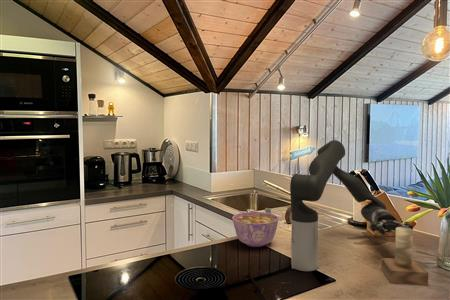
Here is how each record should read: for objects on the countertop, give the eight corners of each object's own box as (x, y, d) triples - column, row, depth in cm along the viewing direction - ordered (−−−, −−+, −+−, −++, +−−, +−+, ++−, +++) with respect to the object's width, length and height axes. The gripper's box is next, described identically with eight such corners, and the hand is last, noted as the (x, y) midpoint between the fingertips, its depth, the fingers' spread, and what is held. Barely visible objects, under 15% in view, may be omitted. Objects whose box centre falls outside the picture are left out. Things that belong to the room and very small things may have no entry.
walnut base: (390, 282, 112) (391, 270, 111) (381, 268, 122) (381, 257, 122) (428, 285, 110) (428, 272, 109) (415, 270, 120) (415, 259, 120)
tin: (298, 218, 191) (298, 203, 191) (303, 219, 189) (303, 203, 189) (284, 224, 180) (284, 208, 179) (289, 225, 178) (289, 209, 177)
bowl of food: (260, 255, 136) (260, 226, 135) (222, 244, 150) (222, 218, 149) (287, 242, 151) (287, 216, 150) (251, 233, 164) (251, 209, 164)
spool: (397, 267, 114) (398, 231, 113) (392, 261, 119) (393, 226, 118) (414, 268, 113) (415, 231, 112) (408, 262, 118) (409, 227, 117)
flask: (266, 225, 177) (266, 206, 176) (278, 228, 172) (278, 208, 171) (257, 228, 172) (257, 208, 171) (269, 231, 167) (269, 211, 166)
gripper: (365, 210, 140) (375, 221, 124) (403, 211, 138) (418, 222, 122) (364, 228, 141) (375, 242, 125) (402, 230, 138) (418, 243, 122)
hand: (396, 232), depth 123 cm, fingers open, 8 cm apart
